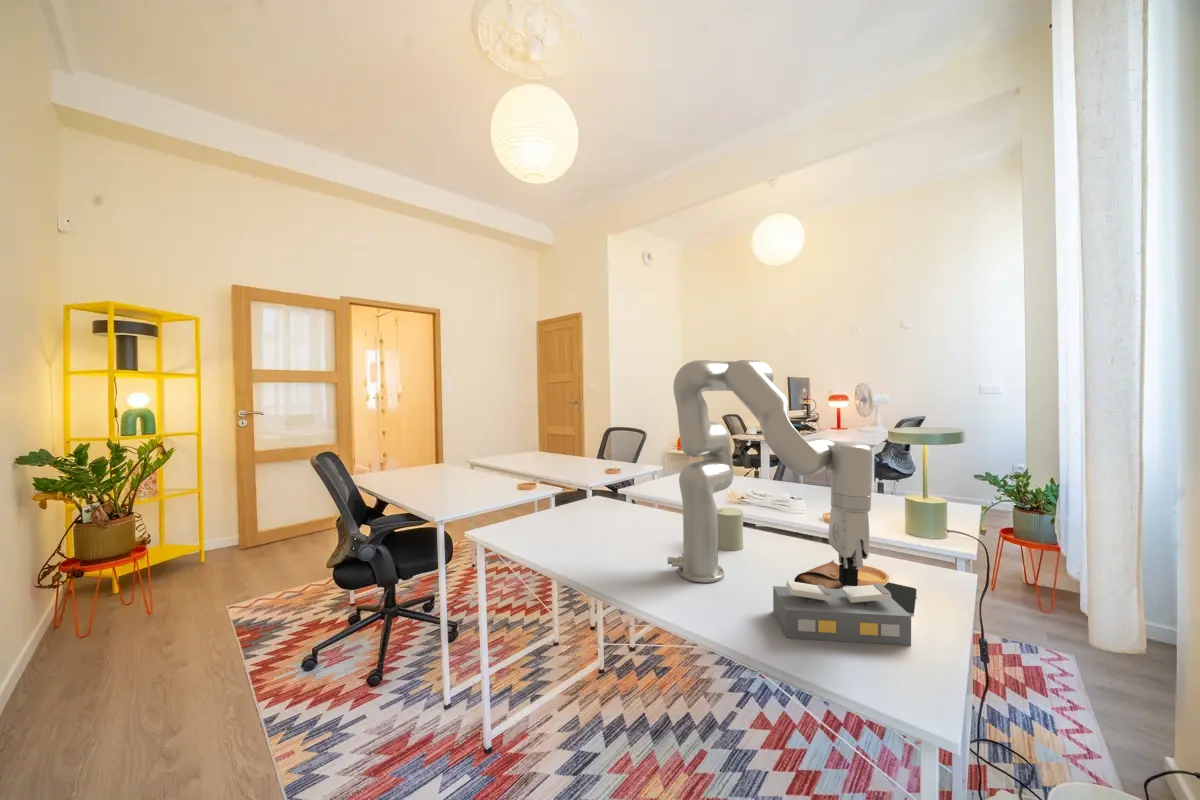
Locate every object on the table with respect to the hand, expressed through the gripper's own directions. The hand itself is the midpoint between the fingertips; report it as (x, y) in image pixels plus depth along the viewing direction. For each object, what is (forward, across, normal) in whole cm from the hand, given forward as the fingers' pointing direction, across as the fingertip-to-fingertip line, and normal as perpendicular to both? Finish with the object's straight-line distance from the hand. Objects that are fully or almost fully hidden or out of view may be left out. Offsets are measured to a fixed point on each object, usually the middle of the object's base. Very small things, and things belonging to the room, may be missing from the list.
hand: (848, 584), depth 96 cm
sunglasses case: (+10, -22, +4) cm, 25 cm away
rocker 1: (+3, 0, -8) cm, 9 cm away
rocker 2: (+2, 0, +4) cm, 4 cm away
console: (+10, +1, -2) cm, 10 cm away
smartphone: (+10, -15, +17) cm, 25 cm away
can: (+11, -47, -18) cm, 52 cm away
